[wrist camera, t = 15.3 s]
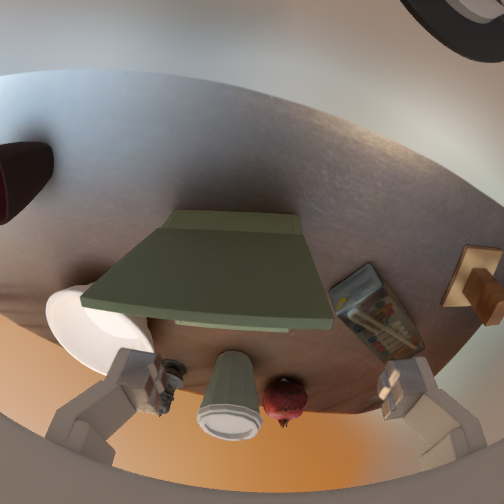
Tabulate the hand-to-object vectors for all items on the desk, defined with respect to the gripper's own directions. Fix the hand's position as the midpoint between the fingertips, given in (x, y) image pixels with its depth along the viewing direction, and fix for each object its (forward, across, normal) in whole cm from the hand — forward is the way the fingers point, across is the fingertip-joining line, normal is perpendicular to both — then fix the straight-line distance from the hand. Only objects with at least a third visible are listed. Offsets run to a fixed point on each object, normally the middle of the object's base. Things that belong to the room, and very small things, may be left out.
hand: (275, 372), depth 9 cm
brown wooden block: (+26, -36, +14) cm, 47 cm away
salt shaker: (+28, +18, +40) cm, 52 cm away
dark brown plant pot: (+28, +36, -4) cm, 46 cm away
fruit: (+28, -5, +43) cm, 52 cm away
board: (+27, -36, +14) cm, 48 cm away
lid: (+13, +4, +5) cm, 15 cm away
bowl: (+28, +27, +25) cm, 46 cm away
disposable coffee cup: (+28, +5, +35) cm, 45 cm away
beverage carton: (+28, -18, +21) cm, 39 cm away
